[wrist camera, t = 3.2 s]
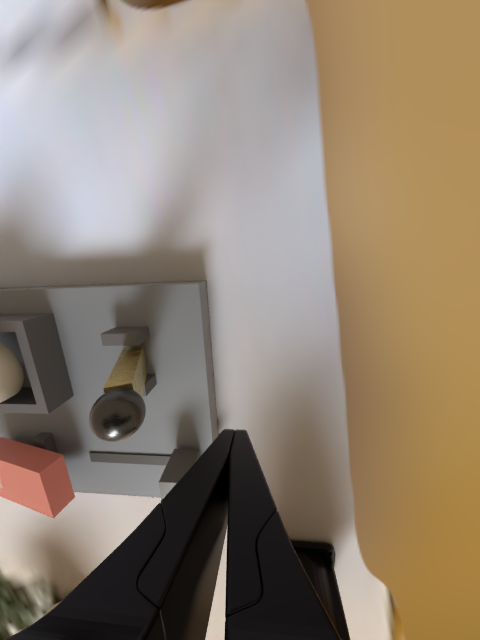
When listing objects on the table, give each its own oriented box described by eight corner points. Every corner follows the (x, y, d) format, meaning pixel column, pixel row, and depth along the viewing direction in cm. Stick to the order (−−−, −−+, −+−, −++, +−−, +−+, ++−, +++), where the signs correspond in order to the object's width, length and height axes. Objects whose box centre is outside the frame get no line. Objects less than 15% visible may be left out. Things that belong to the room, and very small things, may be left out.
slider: (199, 449, 18) (187, 483, 15) (202, 478, 18) (191, 516, 16) (174, 448, 18) (158, 482, 15) (178, 477, 19) (163, 514, 16)
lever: (150, 341, 16) (139, 399, 9) (154, 369, 17) (147, 446, 10) (116, 345, 16) (75, 412, 9) (121, 375, 16) (87, 460, 9)
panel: (212, 280, 17) (196, 287, 13) (227, 479, 21) (218, 531, 17) (-35, 289, 19) (-116, 297, 15) (25, 468, 23) (-25, 512, 19)
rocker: (63, 454, 17) (35, 475, 15) (74, 496, 18) (50, 521, 16) (2, 437, 19) (-28, 453, 18) (15, 475, 20) (-11, 495, 19)
